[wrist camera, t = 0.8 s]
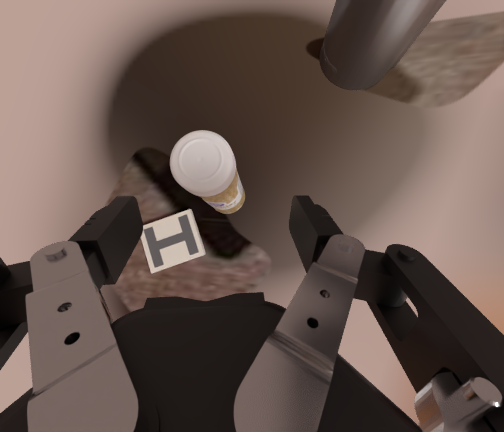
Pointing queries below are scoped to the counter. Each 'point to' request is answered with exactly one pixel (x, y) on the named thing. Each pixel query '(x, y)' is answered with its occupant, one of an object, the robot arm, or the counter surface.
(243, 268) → the counter surface
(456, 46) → the counter surface
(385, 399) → the robot arm
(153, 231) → the letter card
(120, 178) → the counter surface
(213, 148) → the sprinkles bottle
